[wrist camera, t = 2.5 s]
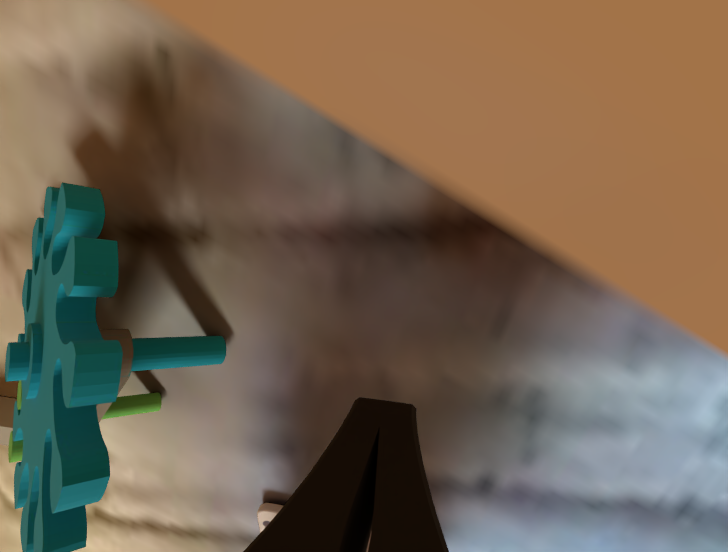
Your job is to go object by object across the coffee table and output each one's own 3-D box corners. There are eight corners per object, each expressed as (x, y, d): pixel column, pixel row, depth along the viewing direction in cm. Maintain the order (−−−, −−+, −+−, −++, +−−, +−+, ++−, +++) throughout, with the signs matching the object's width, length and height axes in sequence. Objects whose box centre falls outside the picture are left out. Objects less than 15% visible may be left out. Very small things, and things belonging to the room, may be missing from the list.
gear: (37, 91, 11) (38, 521, 6) (249, 155, 15) (344, 439, 10) (-8, 315, 17) (-24, 609, 12) (150, 316, 21) (181, 537, 16)
